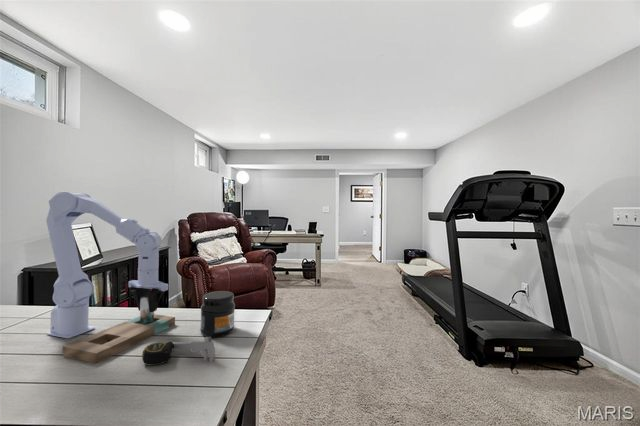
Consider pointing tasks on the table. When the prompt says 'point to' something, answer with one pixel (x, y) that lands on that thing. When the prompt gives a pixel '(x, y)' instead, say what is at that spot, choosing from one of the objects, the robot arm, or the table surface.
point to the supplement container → (217, 314)
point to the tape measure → (157, 353)
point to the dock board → (116, 338)
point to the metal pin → (145, 310)
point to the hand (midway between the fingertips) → (147, 310)
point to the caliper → (199, 347)
